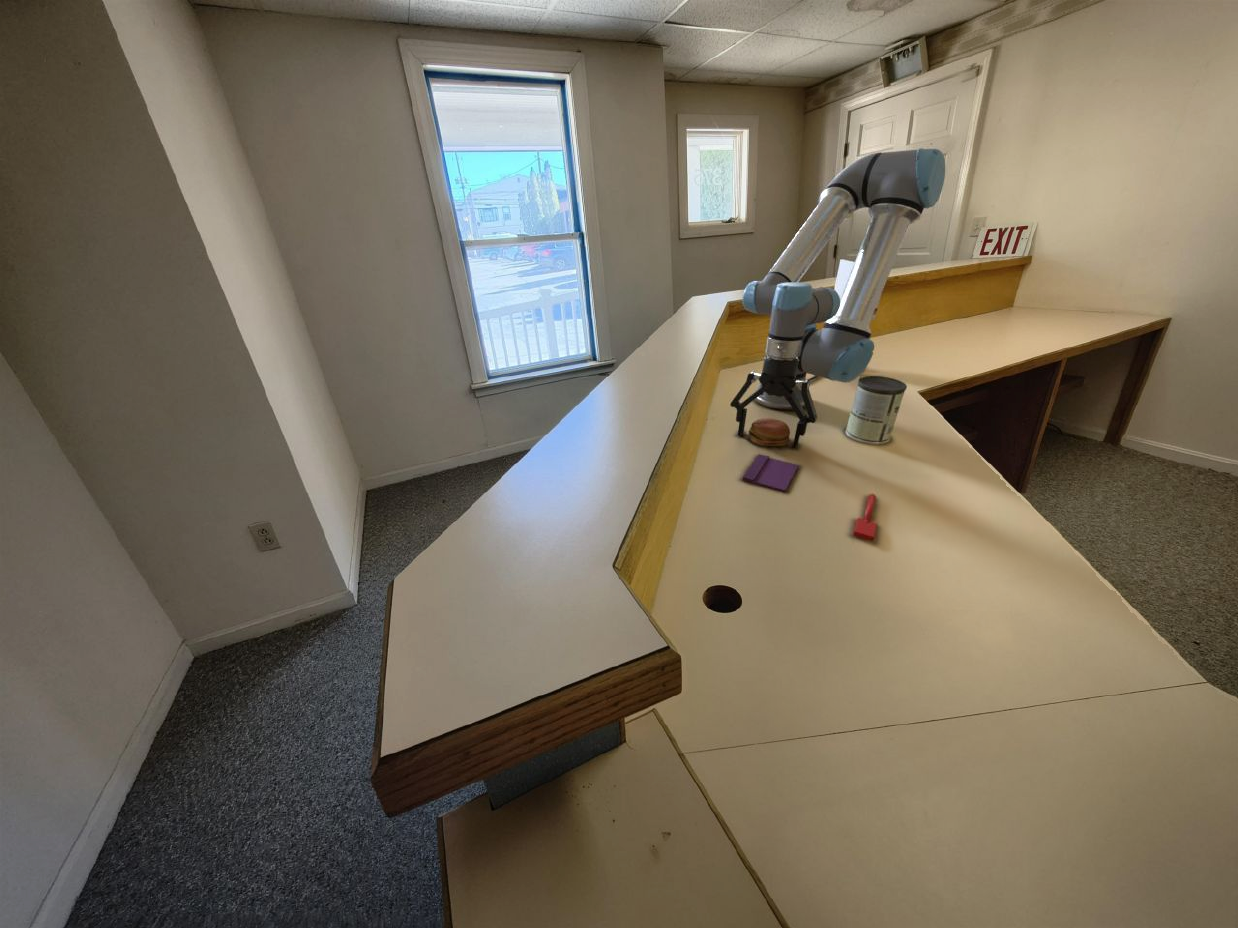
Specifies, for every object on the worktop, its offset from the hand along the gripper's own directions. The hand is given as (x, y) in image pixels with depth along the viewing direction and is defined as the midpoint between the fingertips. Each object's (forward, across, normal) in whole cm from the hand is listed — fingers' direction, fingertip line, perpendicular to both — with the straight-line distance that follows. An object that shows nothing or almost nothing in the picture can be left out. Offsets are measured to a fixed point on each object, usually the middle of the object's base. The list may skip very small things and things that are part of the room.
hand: (767, 439), depth 113 cm
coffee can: (0, +21, +15) cm, 26 cm away
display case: (0, +6, +73) cm, 74 cm away
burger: (0, 0, 0) cm, 0 cm away
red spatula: (0, +25, -22) cm, 33 cm away
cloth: (0, +5, -16) cm, 17 cm away
